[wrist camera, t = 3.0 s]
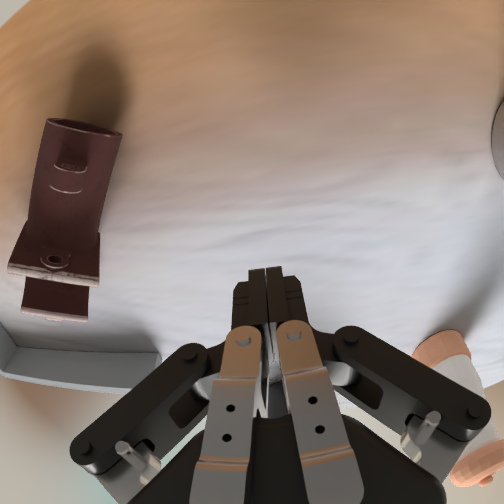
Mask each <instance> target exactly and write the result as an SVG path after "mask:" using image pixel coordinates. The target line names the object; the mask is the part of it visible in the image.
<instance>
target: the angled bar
mask: <svg viewBox="0 0 504 504" xmlns="http://www.w3.org/2000/svg"><path fill="white" fill-rule="evenodd" d="M161 362H162V358H161V356H160V354H159V353H113V352H82V351H63V350H49V349H36V348H25V347H17V346H16V344H15V343H14V342H13V340H12V339H11V338H10V336H9V335H8V333H7V332H6V330H5V329H4V328H3V326H2V325H1V323H0V373H1V375H2V376H3V377H7V378H13V379H17V380H22V381H27V382H32V383H38V384H44V385H50V386H56V387H63V388H70V389H78V390H86V391H95V392H105V393H117V394H127V393H128V392H129V391H130V390H132V389H133V388H134V387H135V386H136V385H137V384H139V383H140V382H141V381H142V380H143V379H144V378H145V377H147V376H148V375H149V374H150V373H151V372H152V371H154V370H155V369H156V368H157V367H158V366H159V365H160V364H161Z"/></svg>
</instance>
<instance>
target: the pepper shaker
mask: <svg viewBox="0 0 504 504" xmlns="http://www.w3.org/2000/svg"><path fill="white" fill-rule="evenodd" d="M412 358H414V359H416V360H417V361H419V362H421V363H423V364H424V365H426V366H428V367H430V368H431V369H433V370H435V371H437V372H438V373H440V374H442V375H444V376H446V377H447V378H449V379H451V380H453V381H454V382H456V383H458V384H460V385H461V386H463V387H465V388H467V389H468V390H470V391H472V392H474V393H476V394H477V395H479V396H481V397H483V398H484V399H485V400H486V398H485V395H484V390H483V387H482V383H481V379H480V377H479V375H478V373H477V371H476V370H475V368H474V366H473V364H472V362H471V353H470V351H469V349H468V347H467V345H466V344H465V342H464V340H463V338H462V336H461V335H460V333H459V332H458V331H455V330H445V331H442V332H439V333H436V334H435V335H433V336H431V337H429V338H428V339H426V340H425V341H424V342H422V343H421V344H420V345H419V346H418V347H417V348H416V350H415V351H414V353H413V355H412ZM503 466H504V440H503V439H502V440H499V436H498V433H497V430H496V428H495V425H494V422H493V420H492V417H491V418H490V420H489V422H488V424H487V425H486V426H485V427H484V428H483V429H482V431H481V432H480V433H479V434H478V435H477V436H476V437H475V438H474V439H473V440H472V441H471V442H470V443H469V444H468V445H467V446H466V448H465V449H464V451H463V452H462V454H461V456H460V457H459V459H458V460H457V462H456V463H455V465H454V466H453V468H452V469H451V471H450V479H451V481H452V482H453V484H455V485H456V486H458V487H467V486H471V485H473V484H476V483H478V482H479V486H481V487H484V486H486V485H488V484H490V483H491V481H492V480H493V477H492V476H491V475H493V474H494V473H496V472H497V471H499V470H500V469H501V468H502V467H503Z"/></svg>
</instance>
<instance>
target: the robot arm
mask: <svg viewBox="0 0 504 504" xmlns="http://www.w3.org/2000/svg"><path fill="white" fill-rule="evenodd" d="M492 152H493V158H494V162H495V165H496V168H497V170H498V172H499V174H500V175H501V176H502V178H503V179H504V101H503V103H502V104H501V105H500V108H499V110H498V112H497V114H496V117H495V121H494V125H493V132H492ZM266 280H267V282H266ZM272 341H273V342H272ZM273 348H274V354H275V361H280V369H281V376H282V382H283V387H284V392H285V398H286V403H287V409H288V415H285V416H282V417H279V418H275V419H270V418H268V390H269V362H273V361H274V355H273ZM334 390H335V391H337V392H338V393H340V394H341V395H342V396H344V397H345V398H347V399H348V400H349V401H351V402H352V403H354V404H355V405H357V406H358V407H359V408H361V409H362V410H364V411H365V412H367V413H368V414H370V415H371V416H372V417H374V418H376V419H377V420H379V421H380V422H381V423H383V424H384V425H386V426H387V427H389V428H390V429H392V430H393V431H395V432H396V433H398V434H399V435H401V447H402V449H403V451H404V452H405V453H406V454H407V455H408V456H409V457H410V458H411V459H409V458H408V457H407V456H405V455H404V454H402V453H401V452H400V451H398V450H397V449H396V448H394V447H393V446H391V445H390V444H389V443H387V442H386V441H385V440H383V439H382V438H380V437H379V436H378V435H377V434H375V433H374V432H373V431H371V430H370V429H369V428H367V427H366V426H365V425H363V424H362V423H361V422H359V421H358V420H356V419H354V418H352V417H349V416H346V415H343V414H341V413H340V409H339V406H338V402H337V399H336V396H335V392H334ZM206 415H207V420H206V425H205V429H204V430H202V431H201V432H199V433H198V434H197V435H195V436H194V437H193V438H192V439H191V440H190V441H189V442H188V443H187V444H186V445H185V446H184V447H183V448H182V449H181V451H180V452H179V453H178V454H177V455H176V456H175V457H174V458H173V459H172V460H171V461H170V462H169V463H168V464H167V465H166V466H165V467H164V468H163V469H162V470H161V462H160V460H161V459H162V458H163V457H164V456H165V455H166V454H167V453H168V452H169V451H170V450H172V449H173V448H174V447H175V445H177V444H178V443H179V442H180V441H181V440H182V439H183V438H184V437H185V436H186V435H187V434H188V433H189V432H190V431H191V430H192V429H193V428H194V427H195V426H196V425H197V424H198V423H199V422H200V421H201V420H202V419H203V418H204V417H205V416H206ZM490 418H491V408H490V405H489V403H488V402H487V401H486V400H485V399H484V398H483V397H481V396H479V395H477V394H476V393H474V392H472V391H470V390H468V389H467V388H465V387H463V386H461V385H460V384H458V383H456V382H454V381H453V380H451V379H449V378H447V377H446V376H444V375H442V374H440V373H438V372H437V371H435V370H433V369H431V368H430V367H428V366H426V365H424V364H423V363H421V362H419V361H417V360H416V359H414V358H412V357H410V356H409V355H407V354H405V353H404V352H402V351H400V350H398V349H397V348H395V347H393V346H391V345H390V344H388V343H386V342H384V341H383V340H381V339H379V338H377V337H376V336H374V335H372V334H371V333H369V332H367V331H365V330H364V329H362V328H360V327H357V326H345V327H342V328H340V329H339V330H337V331H336V332H335V334H329V333H322V332H319V331H317V330H315V329H314V328H312V327H311V325H310V324H309V321H308V317H307V312H306V307H305V302H304V298H303V293H302V288H301V283H300V281H299V280H298V279H297V278H296V277H295V276H286V277H283V274H282V267H281V266H277V267H269V268H266V275H265V269H264V268H262V269H254V270H249V281H246V282H238V284H237V285H236V287H235V289H234V291H233V308H232V326H231V331H230V332H229V333H228V335H227V337H226V340H225V341H224V342H222V343H221V344H219V345H217V346H214V347H211V348H208V349H206V348H205V347H204V346H203V345H201V344H198V343H189V344H186V345H183V346H181V347H180V348H179V349H177V350H176V351H175V352H174V353H173V354H172V355H171V356H169V357H168V358H167V359H166V360H165V361H164V362H163V363H162V364H160V365H159V366H158V367H157V368H156V369H155V370H154V371H152V372H151V373H150V374H149V375H148V376H147V377H145V378H144V379H143V380H142V381H141V382H140V383H139V384H137V385H136V386H135V387H134V388H133V389H132V390H130V391H129V392H128V393H127V394H126V395H125V396H124V397H122V398H121V399H120V400H119V401H118V402H117V403H115V404H114V405H113V406H112V407H111V408H109V409H108V410H107V411H106V412H105V413H104V414H102V415H101V416H100V417H99V418H98V419H97V420H95V421H94V422H93V423H92V424H91V425H90V426H88V427H87V428H86V429H85V430H83V431H82V432H81V433H80V434H79V435H78V436H77V437H75V438H74V440H73V441H72V443H71V445H70V456H71V458H72V459H73V461H74V462H75V463H77V464H78V465H80V466H81V467H82V468H84V469H85V470H86V471H87V472H88V473H90V474H91V475H93V476H94V477H96V478H97V479H98V480H99V481H100V483H101V484H102V485H103V486H104V488H105V489H106V490H107V491H108V492H109V493H110V494H111V496H112V497H113V498H114V499H115V500H116V501H117V502H118V503H119V504H446V502H447V501H446V500H447V499H446V493H445V490H444V487H443V485H442V482H443V481H444V479H445V478H446V477H447V475H448V474H449V472H450V471H451V469H452V468H453V466H454V465H455V463H456V462H457V460H458V459H459V457H460V456H461V454H462V452H463V451H464V449H465V448H466V446H467V445H468V444H469V443H470V442H471V441H472V440H473V439H474V438H475V437H476V436H477V435H478V434H479V433H480V432H481V431H482V429H483V428H484V427H485V426H486V425H487V424H488V422H489V420H490ZM160 470H161V471H160Z"/></svg>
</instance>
